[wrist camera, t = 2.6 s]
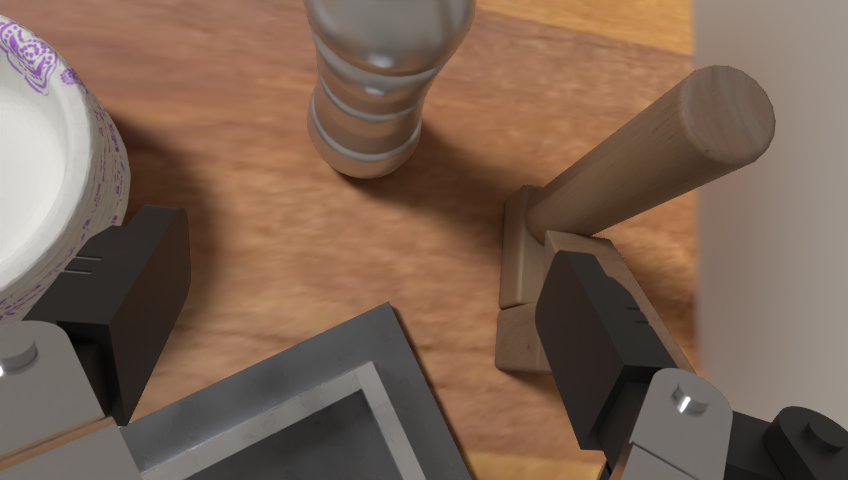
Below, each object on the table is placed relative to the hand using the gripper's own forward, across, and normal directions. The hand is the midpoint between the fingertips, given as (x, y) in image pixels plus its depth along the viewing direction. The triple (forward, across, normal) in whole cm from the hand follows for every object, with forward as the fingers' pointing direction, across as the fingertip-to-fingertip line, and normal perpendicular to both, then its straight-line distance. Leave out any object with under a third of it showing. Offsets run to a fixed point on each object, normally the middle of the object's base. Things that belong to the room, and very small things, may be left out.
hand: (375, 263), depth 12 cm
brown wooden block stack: (+17, -11, +12) cm, 24 cm away
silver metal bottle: (+23, 0, +6) cm, 24 cm away
